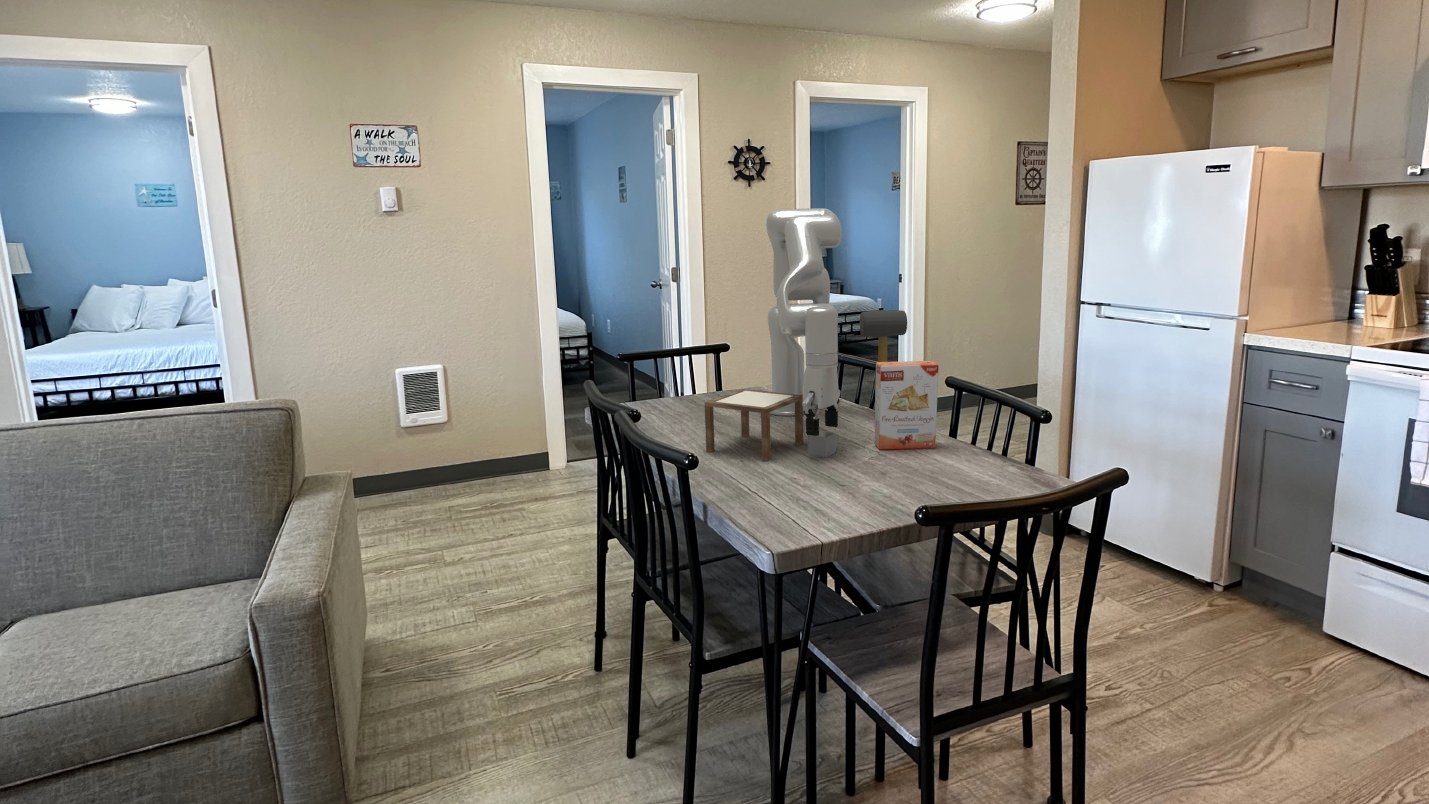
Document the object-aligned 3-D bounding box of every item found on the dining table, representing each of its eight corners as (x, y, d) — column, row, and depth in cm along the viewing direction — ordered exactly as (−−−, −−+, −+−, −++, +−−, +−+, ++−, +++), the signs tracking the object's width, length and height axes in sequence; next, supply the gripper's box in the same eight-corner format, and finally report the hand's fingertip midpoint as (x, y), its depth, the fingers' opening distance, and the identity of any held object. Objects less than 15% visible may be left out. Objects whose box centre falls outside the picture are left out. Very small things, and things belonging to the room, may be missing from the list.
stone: (817, 450, 199) (817, 430, 198) (835, 452, 196) (836, 432, 195) (807, 455, 195) (807, 434, 194) (826, 457, 192) (826, 437, 191)
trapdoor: (745, 394, 209) (745, 390, 209) (793, 399, 202) (793, 395, 201) (714, 405, 198) (714, 401, 198) (763, 411, 190) (763, 407, 190)
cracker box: (879, 450, 196) (880, 365, 191) (873, 444, 202) (874, 361, 197) (936, 448, 196) (939, 363, 192) (929, 442, 202) (932, 359, 197)
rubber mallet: (900, 411, 235) (902, 307, 229) (906, 417, 228) (909, 310, 221) (858, 412, 235) (858, 309, 229) (862, 418, 228) (863, 312, 221)
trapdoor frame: (744, 435, 214) (743, 388, 212) (803, 443, 205) (802, 395, 202) (706, 451, 200) (704, 402, 198) (767, 461, 190) (766, 409, 188)
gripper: (824, 354, 199) (824, 422, 203) (789, 364, 185) (790, 436, 189) (852, 355, 195) (852, 425, 198) (818, 366, 181) (819, 440, 185)
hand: (822, 430), depth 194 cm, fingers open, 9 cm apart
